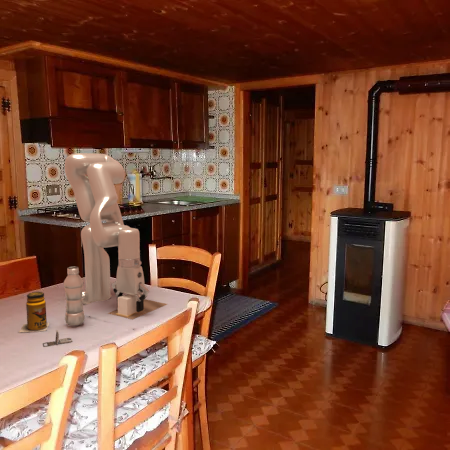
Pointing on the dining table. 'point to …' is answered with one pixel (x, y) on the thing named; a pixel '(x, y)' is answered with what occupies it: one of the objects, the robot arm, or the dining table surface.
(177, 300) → the dining table surface
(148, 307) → the board
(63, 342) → the strap clip
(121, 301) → the block
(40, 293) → the condiment
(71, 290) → the plastic bottle
